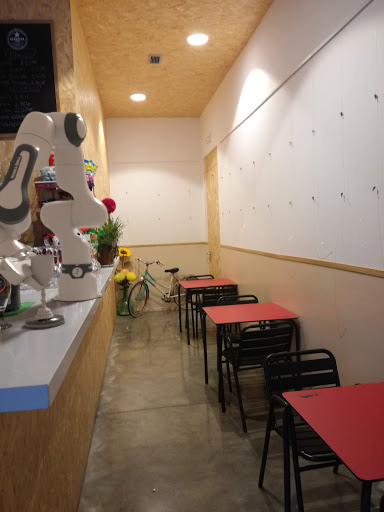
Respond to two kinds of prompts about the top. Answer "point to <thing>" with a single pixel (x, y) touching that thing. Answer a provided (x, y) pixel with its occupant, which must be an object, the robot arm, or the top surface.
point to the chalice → (42, 279)
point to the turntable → (44, 322)
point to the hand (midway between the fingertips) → (45, 287)
